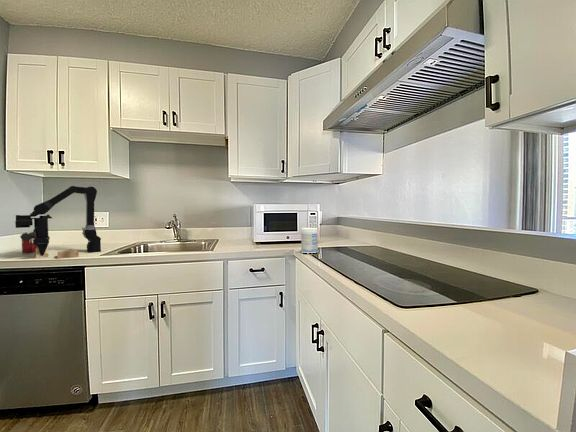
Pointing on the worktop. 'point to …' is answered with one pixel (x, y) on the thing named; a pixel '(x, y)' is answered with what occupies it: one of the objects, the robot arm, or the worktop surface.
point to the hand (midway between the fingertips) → (42, 254)
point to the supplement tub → (309, 240)
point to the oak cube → (39, 253)
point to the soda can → (28, 246)
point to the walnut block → (68, 254)
